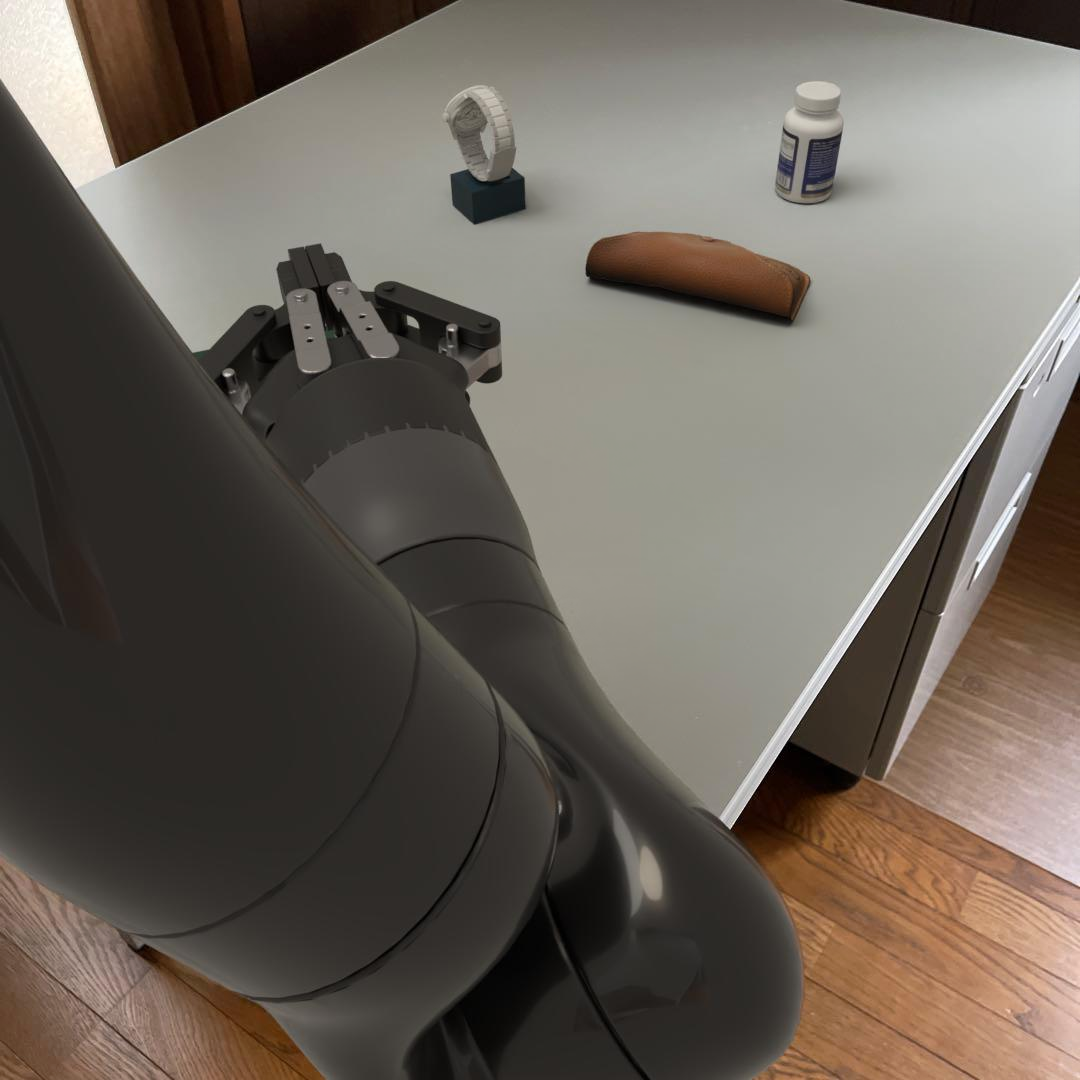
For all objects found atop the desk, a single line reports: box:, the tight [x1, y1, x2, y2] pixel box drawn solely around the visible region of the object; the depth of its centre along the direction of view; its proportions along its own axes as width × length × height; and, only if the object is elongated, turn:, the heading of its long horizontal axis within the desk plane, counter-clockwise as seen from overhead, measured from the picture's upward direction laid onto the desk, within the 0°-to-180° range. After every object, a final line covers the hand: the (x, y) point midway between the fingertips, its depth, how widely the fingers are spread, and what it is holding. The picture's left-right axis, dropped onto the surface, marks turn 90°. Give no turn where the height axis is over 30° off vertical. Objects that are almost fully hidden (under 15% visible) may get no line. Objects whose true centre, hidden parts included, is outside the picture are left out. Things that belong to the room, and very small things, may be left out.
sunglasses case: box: [584, 231, 811, 322], centre depth 93 cm, size 18×7×7 cm
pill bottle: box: [774, 80, 845, 204], centre depth 102 cm, size 5×5×10 cm
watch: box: [441, 84, 527, 225], centre depth 101 cm, size 6×8×11 cm
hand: (306, 264), depth 48 cm, fingers closed
